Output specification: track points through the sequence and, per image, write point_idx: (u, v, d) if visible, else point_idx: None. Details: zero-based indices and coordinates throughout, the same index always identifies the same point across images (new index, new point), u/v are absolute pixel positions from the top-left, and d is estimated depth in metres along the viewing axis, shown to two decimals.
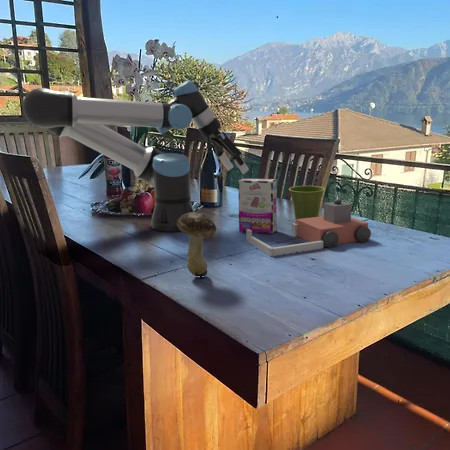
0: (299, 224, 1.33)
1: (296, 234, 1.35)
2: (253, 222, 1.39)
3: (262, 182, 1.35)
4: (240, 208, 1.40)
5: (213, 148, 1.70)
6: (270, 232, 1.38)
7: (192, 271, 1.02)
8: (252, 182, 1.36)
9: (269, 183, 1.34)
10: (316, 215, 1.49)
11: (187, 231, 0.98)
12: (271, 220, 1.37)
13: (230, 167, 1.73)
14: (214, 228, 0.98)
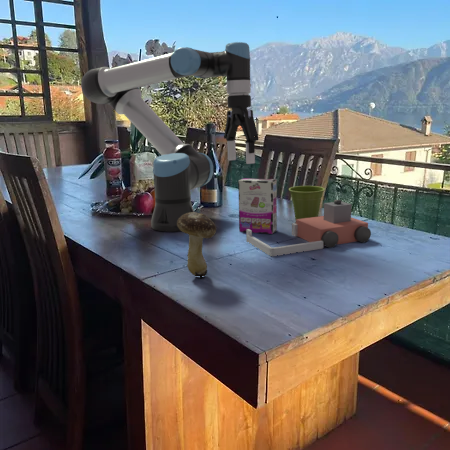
0: (299, 224, 1.33)
1: (296, 234, 1.35)
2: (253, 222, 1.39)
3: (262, 182, 1.35)
4: (240, 208, 1.40)
5: (227, 129, 1.53)
6: (270, 232, 1.38)
7: (192, 271, 1.02)
8: (252, 182, 1.36)
9: (269, 183, 1.34)
10: (316, 215, 1.49)
11: (187, 231, 0.98)
12: (271, 220, 1.37)
13: (232, 158, 1.54)
14: (214, 228, 0.98)
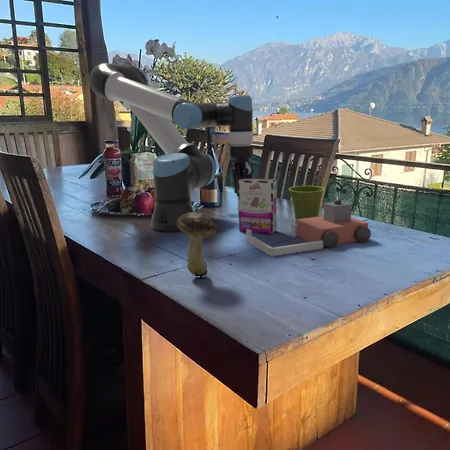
0: (299, 224, 1.33)
1: (296, 234, 1.35)
2: (253, 222, 1.39)
3: (262, 182, 1.35)
4: (240, 208, 1.40)
5: (235, 182, 1.52)
6: (270, 232, 1.38)
7: (192, 271, 1.02)
8: (252, 182, 1.36)
9: (269, 183, 1.34)
10: (316, 215, 1.49)
11: (187, 231, 0.98)
12: (271, 220, 1.37)
13: None
14: (214, 228, 0.98)
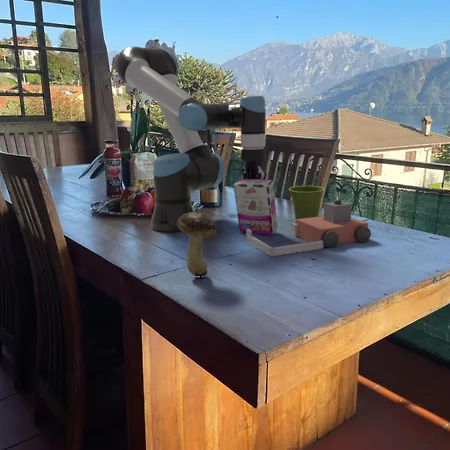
0: (299, 224, 1.33)
1: (296, 234, 1.35)
2: (252, 224, 1.37)
3: (257, 186, 1.30)
4: (238, 211, 1.37)
5: None
6: (270, 233, 1.36)
7: (192, 271, 1.02)
8: (247, 186, 1.32)
9: (264, 187, 1.29)
10: (316, 215, 1.49)
11: (187, 231, 0.98)
12: (270, 222, 1.34)
13: None
14: (214, 228, 0.98)
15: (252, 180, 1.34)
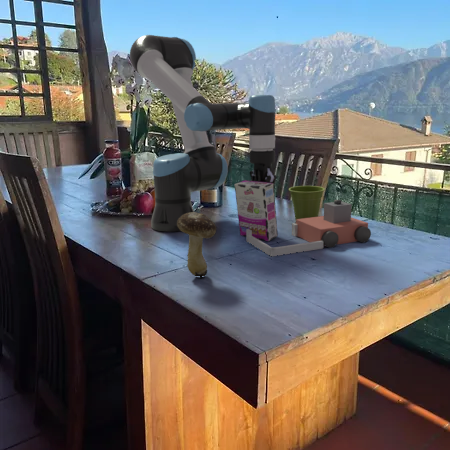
0: (299, 224, 1.33)
1: (296, 234, 1.35)
2: (250, 227, 1.33)
3: (254, 187, 1.27)
4: (238, 212, 1.34)
5: None
6: (266, 239, 1.30)
7: (192, 271, 1.02)
8: (246, 187, 1.29)
9: (261, 189, 1.26)
10: (316, 215, 1.49)
11: (187, 231, 0.98)
12: (266, 227, 1.29)
13: None
14: (214, 228, 0.98)
15: (254, 182, 1.31)
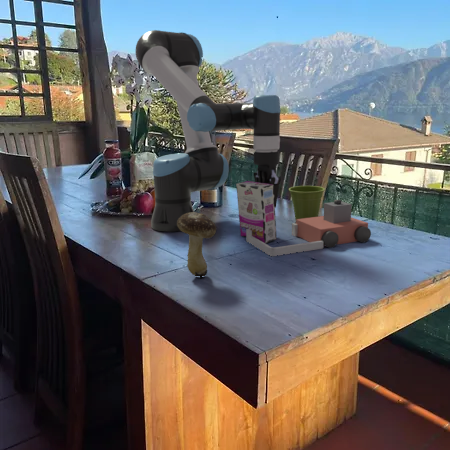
0: (299, 224, 1.33)
1: (296, 234, 1.35)
2: (249, 228, 1.32)
3: (254, 188, 1.26)
4: (239, 212, 1.34)
5: None
6: (263, 241, 1.29)
7: (192, 271, 1.02)
8: (246, 187, 1.28)
9: (259, 189, 1.25)
10: (316, 215, 1.49)
11: (187, 231, 0.98)
12: (263, 228, 1.27)
13: None
14: (214, 228, 0.98)
15: (255, 183, 1.30)
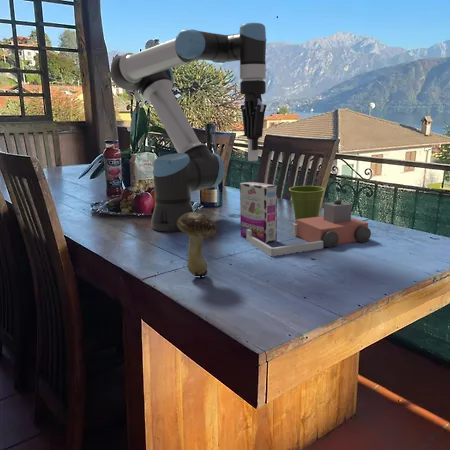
0: (299, 224, 1.33)
1: (296, 234, 1.35)
2: (250, 228, 1.32)
3: (257, 187, 1.27)
4: (241, 212, 1.34)
5: (245, 124, 1.39)
6: (263, 241, 1.29)
7: (192, 271, 1.02)
8: (250, 186, 1.29)
9: (262, 189, 1.25)
10: (316, 215, 1.49)
11: (187, 231, 0.98)
12: (264, 228, 1.27)
13: None
14: (214, 228, 0.98)
15: (259, 183, 1.31)
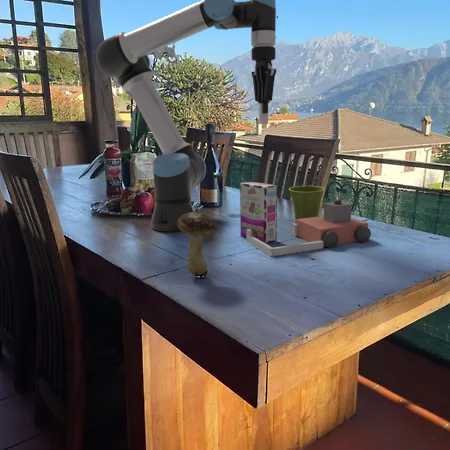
0: (299, 224, 1.33)
1: (296, 234, 1.35)
2: (250, 228, 1.32)
3: (257, 187, 1.27)
4: (241, 212, 1.34)
5: (256, 89, 1.47)
6: (263, 241, 1.29)
7: (192, 271, 1.02)
8: (250, 186, 1.29)
9: (262, 189, 1.25)
10: (316, 215, 1.49)
11: (187, 231, 0.98)
12: (264, 228, 1.27)
13: None
14: (214, 228, 0.98)
15: (259, 183, 1.31)
